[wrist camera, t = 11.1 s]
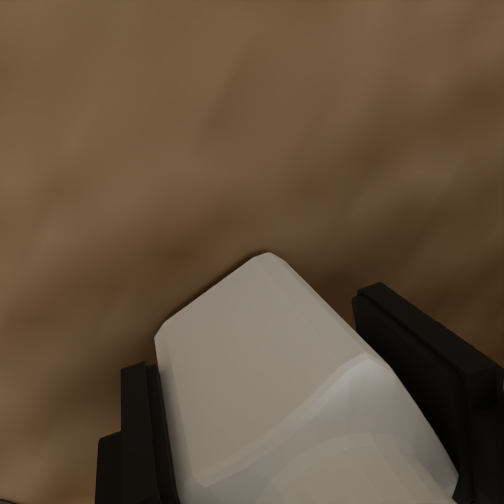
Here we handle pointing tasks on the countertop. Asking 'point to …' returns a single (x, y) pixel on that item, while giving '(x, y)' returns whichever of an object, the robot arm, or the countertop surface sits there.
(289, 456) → the pepper shaker
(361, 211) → the countertop surface
